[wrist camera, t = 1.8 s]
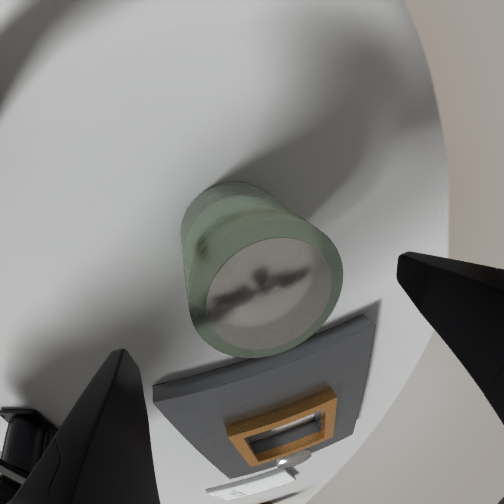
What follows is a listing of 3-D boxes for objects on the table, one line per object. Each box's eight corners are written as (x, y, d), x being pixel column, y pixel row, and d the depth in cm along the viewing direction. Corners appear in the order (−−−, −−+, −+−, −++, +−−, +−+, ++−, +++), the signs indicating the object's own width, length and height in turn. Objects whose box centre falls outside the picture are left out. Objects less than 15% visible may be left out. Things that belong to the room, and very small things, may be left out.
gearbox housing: (227, 469, 25) (231, 485, 23) (152, 385, 16) (153, 414, 14) (347, 425, 28) (356, 439, 26) (363, 313, 19) (383, 333, 17)
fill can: (197, 288, 14) (216, 376, 9) (167, 198, 12) (163, 252, 7) (285, 260, 15) (344, 329, 10) (270, 171, 13) (341, 201, 7)
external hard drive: (293, 472, 34) (225, 494, 32) (282, 463, 30) (204, 486, 29) (296, 480, 32) (227, 501, 31) (285, 471, 28) (206, 494, 27)
